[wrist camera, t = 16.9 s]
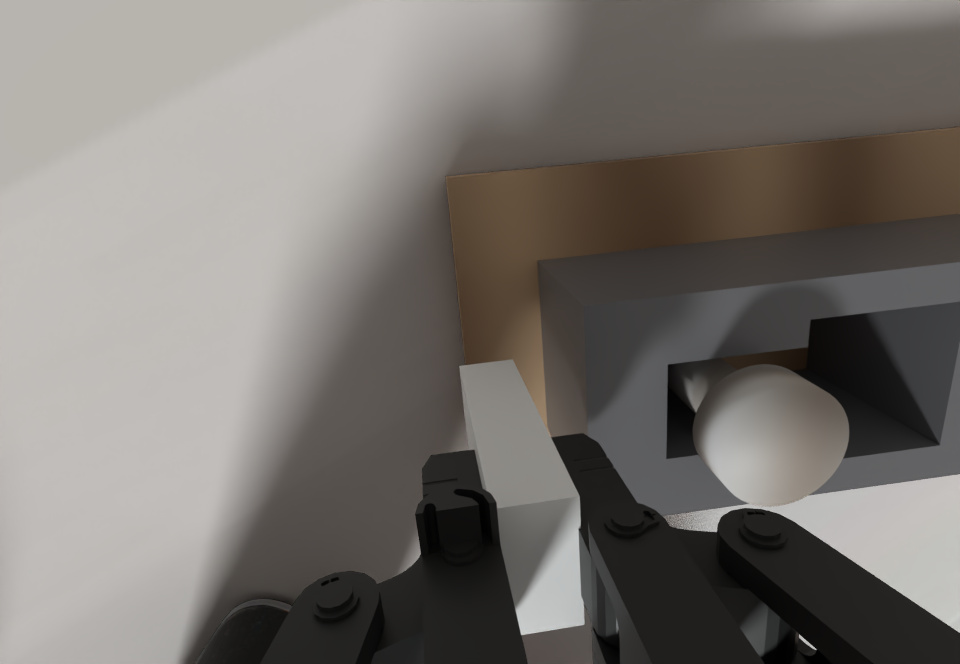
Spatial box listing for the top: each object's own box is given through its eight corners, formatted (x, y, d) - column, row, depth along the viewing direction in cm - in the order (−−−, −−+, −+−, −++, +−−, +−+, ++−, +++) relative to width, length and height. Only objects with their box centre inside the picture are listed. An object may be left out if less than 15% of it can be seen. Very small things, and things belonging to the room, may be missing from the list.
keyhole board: (478, 493, 22) (510, 695, 14) (445, 176, 18) (462, 197, 10) (1049, 418, 23) (1380, 561, 15) (1130, 110, 19) (1629, 82, 11)
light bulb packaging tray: (547, 426, 20) (597, 541, 14) (537, 260, 18) (591, 313, 12) (1119, 353, 21) (1381, 429, 15) (1166, 190, 19) (1485, 208, 13)
